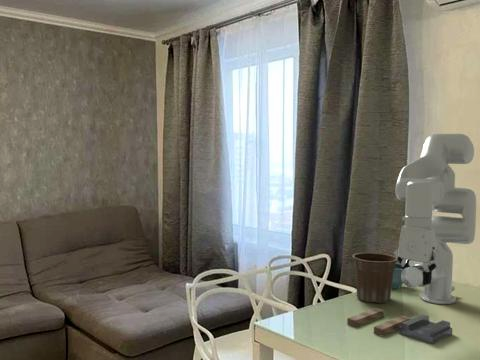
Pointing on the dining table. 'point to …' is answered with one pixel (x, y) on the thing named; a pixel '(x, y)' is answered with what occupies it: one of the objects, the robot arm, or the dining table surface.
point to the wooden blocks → (375, 314)
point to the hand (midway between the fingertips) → (416, 281)
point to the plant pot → (374, 276)
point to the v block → (425, 329)
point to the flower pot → (397, 277)
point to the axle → (421, 274)
